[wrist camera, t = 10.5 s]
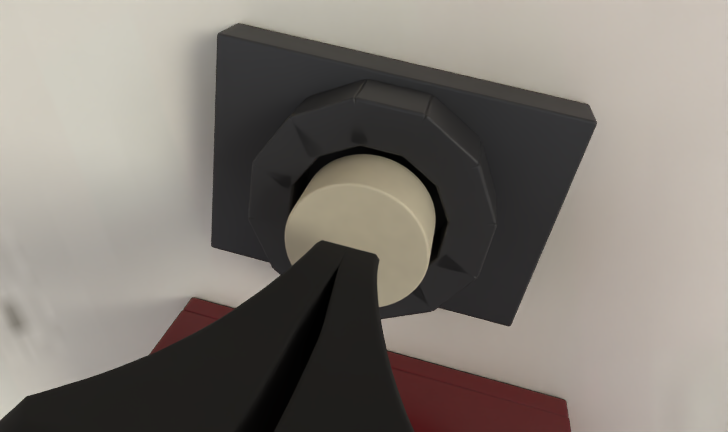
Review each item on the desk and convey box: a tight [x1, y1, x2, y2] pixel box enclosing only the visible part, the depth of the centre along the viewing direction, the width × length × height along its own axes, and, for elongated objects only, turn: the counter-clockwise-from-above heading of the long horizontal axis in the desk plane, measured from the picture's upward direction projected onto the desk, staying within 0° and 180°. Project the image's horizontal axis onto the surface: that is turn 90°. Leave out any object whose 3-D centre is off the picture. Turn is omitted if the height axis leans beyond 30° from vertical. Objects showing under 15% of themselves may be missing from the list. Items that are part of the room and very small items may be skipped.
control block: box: [211, 23, 597, 326], centre depth 16 cm, size 10×7×3 cm
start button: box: [285, 154, 436, 307], centre depth 14 cm, size 4×4×2 cm
